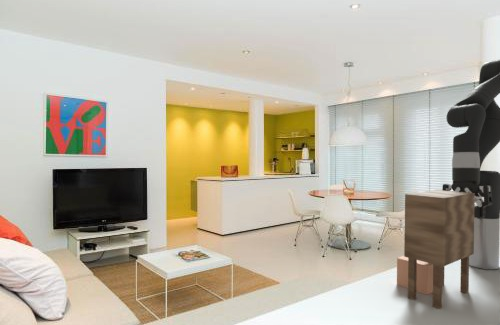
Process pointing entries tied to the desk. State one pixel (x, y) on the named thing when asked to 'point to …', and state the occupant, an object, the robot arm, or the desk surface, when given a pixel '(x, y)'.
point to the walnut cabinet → (438, 236)
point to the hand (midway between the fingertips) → (465, 217)
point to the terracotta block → (423, 275)
